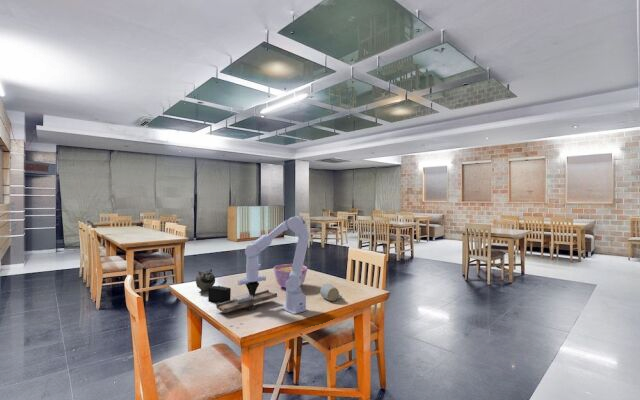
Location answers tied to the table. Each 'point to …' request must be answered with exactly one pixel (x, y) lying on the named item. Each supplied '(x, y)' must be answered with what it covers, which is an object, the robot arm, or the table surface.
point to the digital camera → (219, 294)
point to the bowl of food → (286, 273)
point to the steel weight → (242, 298)
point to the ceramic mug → (330, 292)
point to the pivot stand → (251, 307)
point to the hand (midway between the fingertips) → (251, 297)
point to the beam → (257, 298)
